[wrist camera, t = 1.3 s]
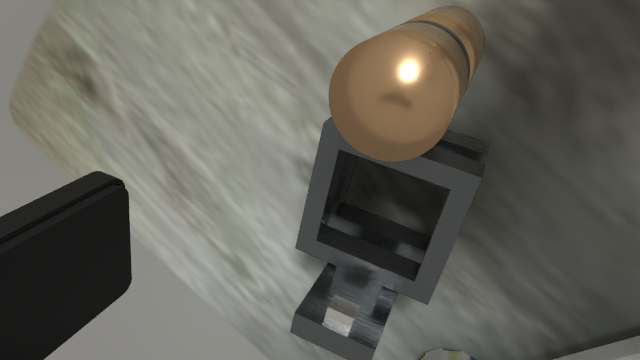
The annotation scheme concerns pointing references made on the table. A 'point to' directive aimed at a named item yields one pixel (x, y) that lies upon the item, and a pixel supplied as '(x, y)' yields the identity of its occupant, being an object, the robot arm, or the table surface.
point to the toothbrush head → (623, 356)
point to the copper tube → (406, 84)
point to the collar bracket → (376, 242)
